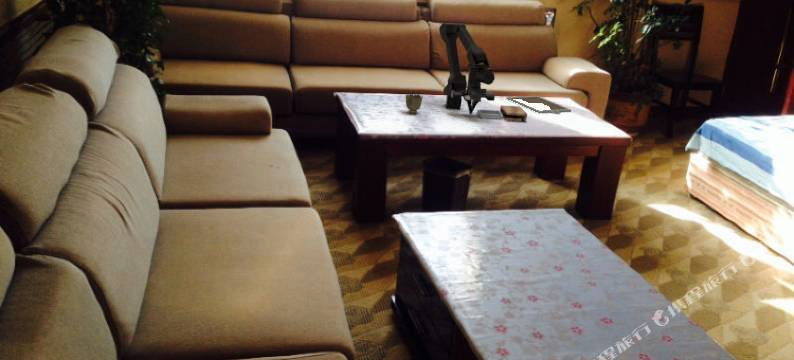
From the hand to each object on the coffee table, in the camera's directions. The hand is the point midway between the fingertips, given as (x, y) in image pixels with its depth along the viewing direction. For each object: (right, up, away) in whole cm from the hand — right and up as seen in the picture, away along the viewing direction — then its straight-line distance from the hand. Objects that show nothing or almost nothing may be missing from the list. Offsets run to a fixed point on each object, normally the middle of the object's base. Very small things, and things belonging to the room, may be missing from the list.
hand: (470, 113), depth 289 cm
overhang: (+19, -2, +2) cm, 19 cm away
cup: (-26, 0, -3) cm, 26 cm away
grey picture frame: (+37, +6, +27) cm, 46 cm away
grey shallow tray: (+9, -1, +1) cm, 9 cm away
